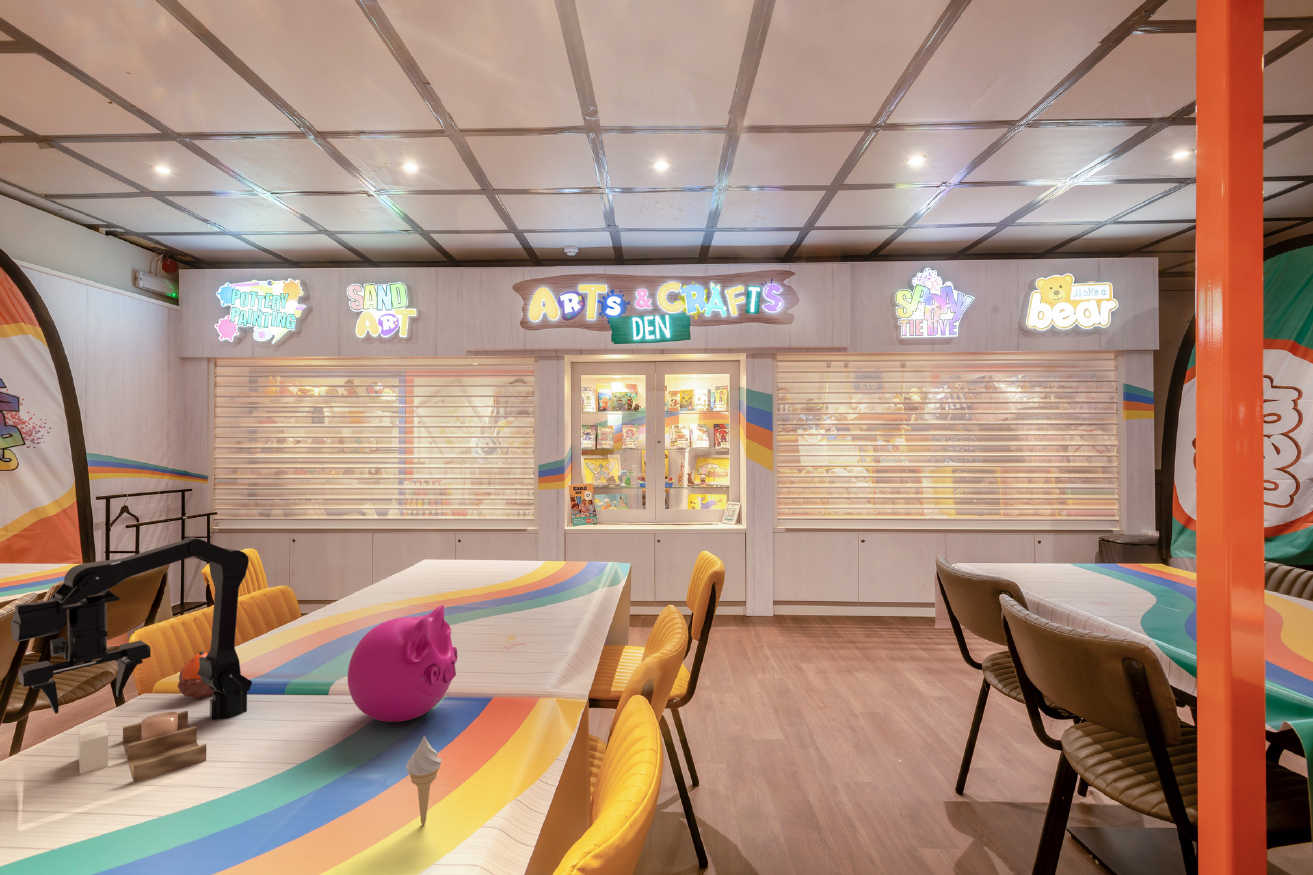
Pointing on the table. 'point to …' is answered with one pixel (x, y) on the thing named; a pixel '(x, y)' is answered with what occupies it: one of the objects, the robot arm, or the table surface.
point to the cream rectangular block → (93, 748)
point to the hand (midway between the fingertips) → (88, 704)
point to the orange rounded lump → (193, 679)
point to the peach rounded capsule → (159, 725)
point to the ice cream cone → (423, 773)
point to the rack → (162, 750)
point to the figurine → (403, 667)
